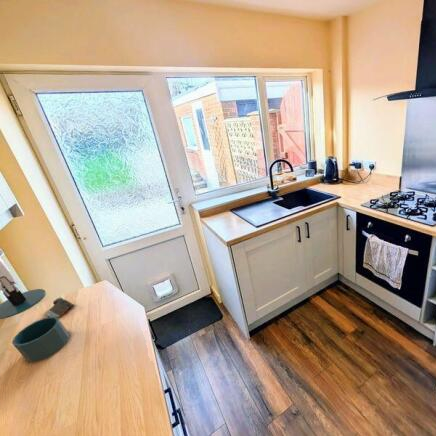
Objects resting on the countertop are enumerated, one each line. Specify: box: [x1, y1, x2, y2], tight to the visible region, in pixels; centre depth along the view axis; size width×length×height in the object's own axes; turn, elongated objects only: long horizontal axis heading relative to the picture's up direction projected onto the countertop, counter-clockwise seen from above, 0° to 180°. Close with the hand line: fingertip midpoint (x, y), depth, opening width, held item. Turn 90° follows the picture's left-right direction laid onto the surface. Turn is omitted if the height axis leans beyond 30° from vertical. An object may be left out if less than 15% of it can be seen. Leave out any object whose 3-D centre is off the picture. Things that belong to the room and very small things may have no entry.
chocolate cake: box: [45, 296, 75, 318], centre depth 107 cm, size 10×7×12 cm
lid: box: [0, 287, 47, 320], centre depth 82 cm, size 13×13×7 cm
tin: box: [11, 316, 70, 363], centre depth 90 cm, size 12×12×8 cm
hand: (17, 300), depth 83 cm, fingers closed on lid, 3 cm apart
